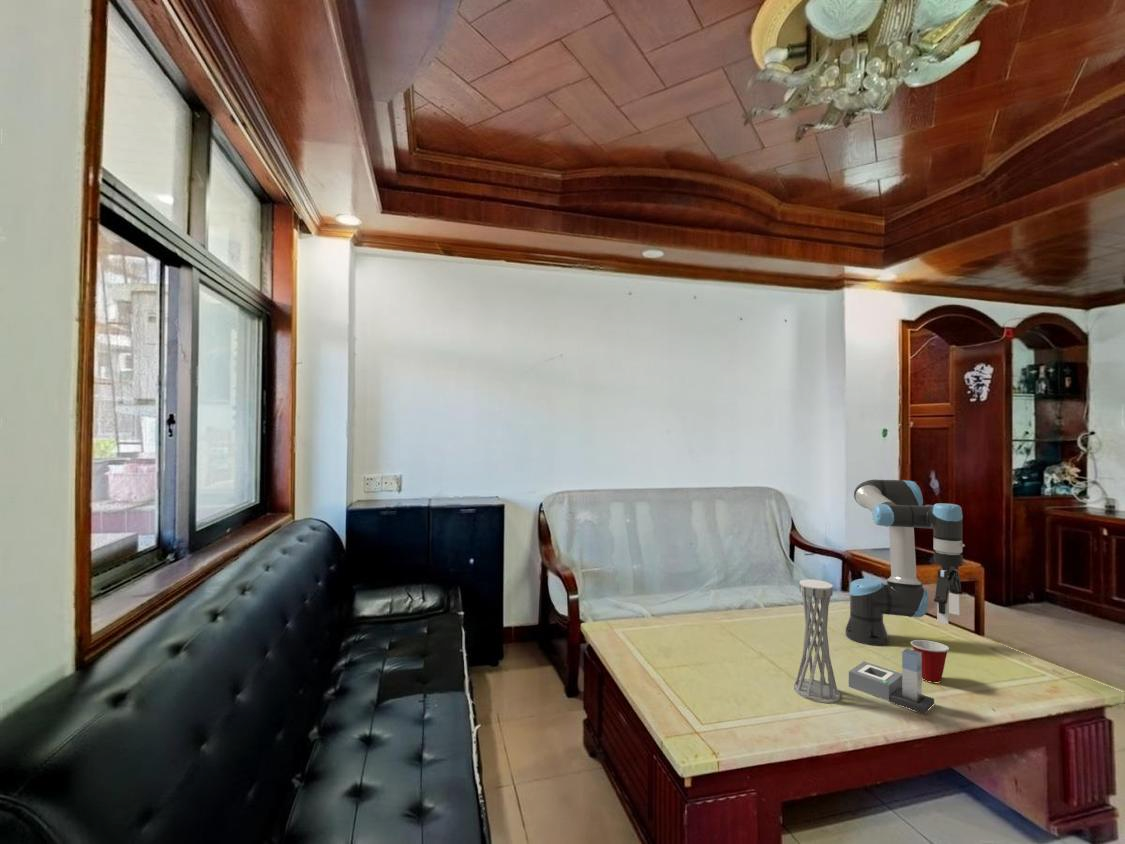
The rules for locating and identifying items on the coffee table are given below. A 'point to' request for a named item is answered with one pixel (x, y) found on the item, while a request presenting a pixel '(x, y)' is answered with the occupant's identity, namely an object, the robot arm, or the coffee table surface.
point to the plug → (912, 675)
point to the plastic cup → (931, 658)
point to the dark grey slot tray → (920, 707)
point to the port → (875, 680)
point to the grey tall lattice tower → (812, 687)
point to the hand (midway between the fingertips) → (948, 618)
